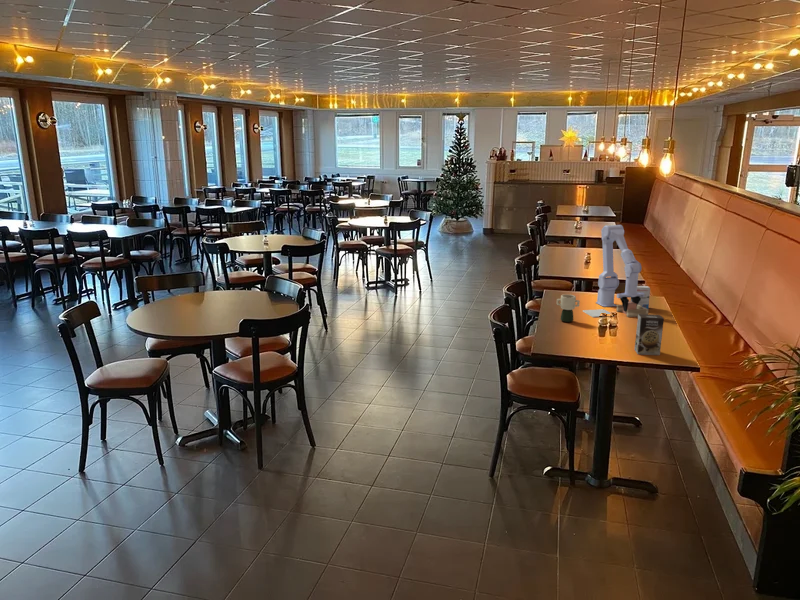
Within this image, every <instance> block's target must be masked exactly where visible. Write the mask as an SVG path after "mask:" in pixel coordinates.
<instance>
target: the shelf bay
mask: <svg viewBox="0 0 800 600" xmlns="http://www.w3.org/2000/svg"><path fill="white" fill-rule="evenodd" d="M616 305H617V306H616V312H617V313H621V312H623V305H622V304H616ZM638 314H648V315H649V308H648V309H646V308H644V307H642V306H640V305H638V304H637V307H636V309H634V310H627V315H626V314H625V315H626V316H625V317H626V318H634V317H635V318H638Z"/></svg>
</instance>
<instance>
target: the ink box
mask: <svg viewBox="0 0 800 600" xmlns="http://www.w3.org/2000/svg"><path fill="white" fill-rule="evenodd" d="M637 293H645V295H644V297H640V298H641V300H640V301H639V303H638V305H640V306H642V307H644V308H646V309H648V310H649V309H650V308H649V306H650V305H649V304H650V294H651V288H650V286H647V285H637ZM630 301H631V302H632V298H631V297H630Z"/></svg>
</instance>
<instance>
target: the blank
mask: <svg viewBox="0 0 800 600" xmlns="http://www.w3.org/2000/svg"><path fill="white" fill-rule="evenodd" d="M636 305H637V304H636V303H634V302H631V300H629V302H628V306H627V310H634V309H636ZM622 314H625V315H627V311H626V312H625V311H624V310H623V312H622Z"/></svg>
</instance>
